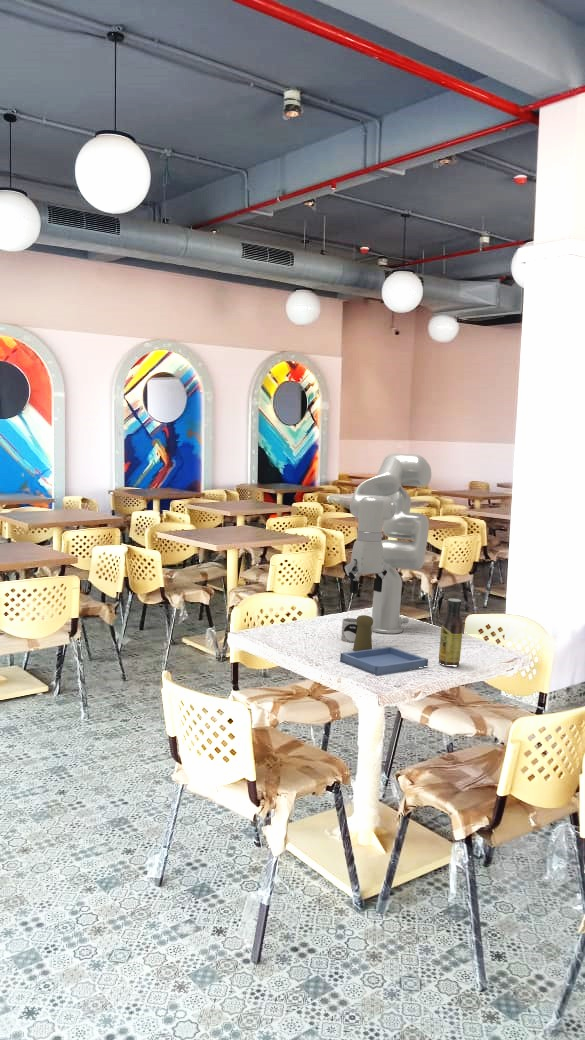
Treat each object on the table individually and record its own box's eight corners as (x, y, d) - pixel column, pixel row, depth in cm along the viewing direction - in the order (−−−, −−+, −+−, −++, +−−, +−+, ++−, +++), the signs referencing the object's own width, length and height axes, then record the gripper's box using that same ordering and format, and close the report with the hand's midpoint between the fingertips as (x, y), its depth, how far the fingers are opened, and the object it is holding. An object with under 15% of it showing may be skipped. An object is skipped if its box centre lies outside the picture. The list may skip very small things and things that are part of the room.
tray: (389, 654, 253) (390, 646, 253) (427, 667, 240) (428, 659, 240) (340, 661, 241) (340, 653, 241) (376, 675, 228) (377, 667, 228)
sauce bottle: (436, 661, 247) (441, 596, 246) (457, 663, 247) (462, 598, 245) (440, 667, 241) (445, 600, 239) (461, 668, 241) (466, 602, 239)
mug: (342, 642, 265) (343, 622, 264) (340, 637, 272) (341, 617, 271) (372, 644, 265) (374, 623, 265) (370, 639, 272) (371, 619, 271)
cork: (372, 649, 258) (374, 614, 257) (372, 653, 252) (374, 618, 251) (353, 647, 259) (355, 613, 258) (352, 652, 253) (355, 617, 252)
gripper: (382, 535, 260) (378, 588, 262) (339, 536, 250) (336, 591, 252) (398, 538, 254) (394, 592, 256) (355, 539, 244) (352, 596, 246)
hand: (365, 592), depth 254 cm, fingers open, 9 cm apart
